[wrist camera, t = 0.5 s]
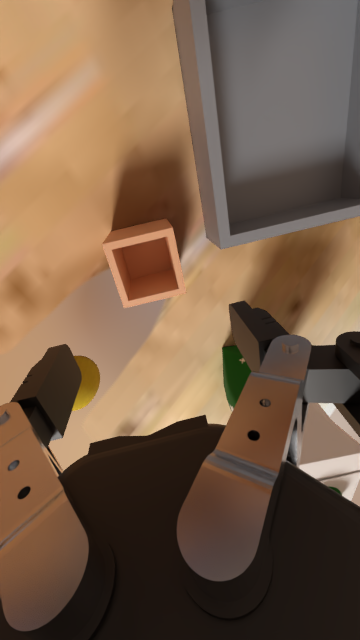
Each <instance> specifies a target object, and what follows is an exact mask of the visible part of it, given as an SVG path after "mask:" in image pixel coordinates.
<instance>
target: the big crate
mask: <svg viewBox="0 0 360 640" xmlns="http://www.w3.org/2000/svg"><path fill="white" fill-rule="evenodd" d="M172 11H173V18H174V25H175V31H176V38H177V44H178V51H179V58H180V64H181V71H182V78H183V84H184V91H185V97H186V104H187V111H188V117H189V124H190V131H191V137H192V144H193V150H194V157H195V164H196V170H197V177H198V184H199V190H200V197H201V203H202V210H203V217H204V223H205V230H206V237H207V238H208V239H209V240H210V241H211V242H212V243H214V244H215V245H216V246H217V247H219V248H220V249H225V248H229V247H233V246H237V245H241V244H245V243H250V242H254V241H258V240H262V239H266V238H270V237H275V236H279V235H283V234H287V233H291V232H295V231H300V230H304V229H308V228H312V227H316V226H320V225H324V224H329V223H333V222H337V221H341V220H345V219H349V218H354V217H358V216H360V0H173V7H172Z"/></svg>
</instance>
